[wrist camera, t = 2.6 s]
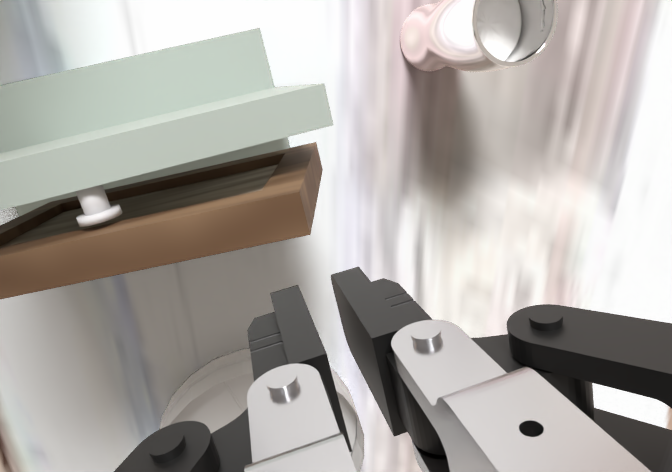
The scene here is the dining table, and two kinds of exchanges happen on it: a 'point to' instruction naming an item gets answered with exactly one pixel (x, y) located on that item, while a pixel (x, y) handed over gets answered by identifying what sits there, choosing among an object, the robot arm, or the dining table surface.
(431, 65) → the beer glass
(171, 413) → the dish
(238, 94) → the board
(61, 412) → the dining table surface
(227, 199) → the frame
